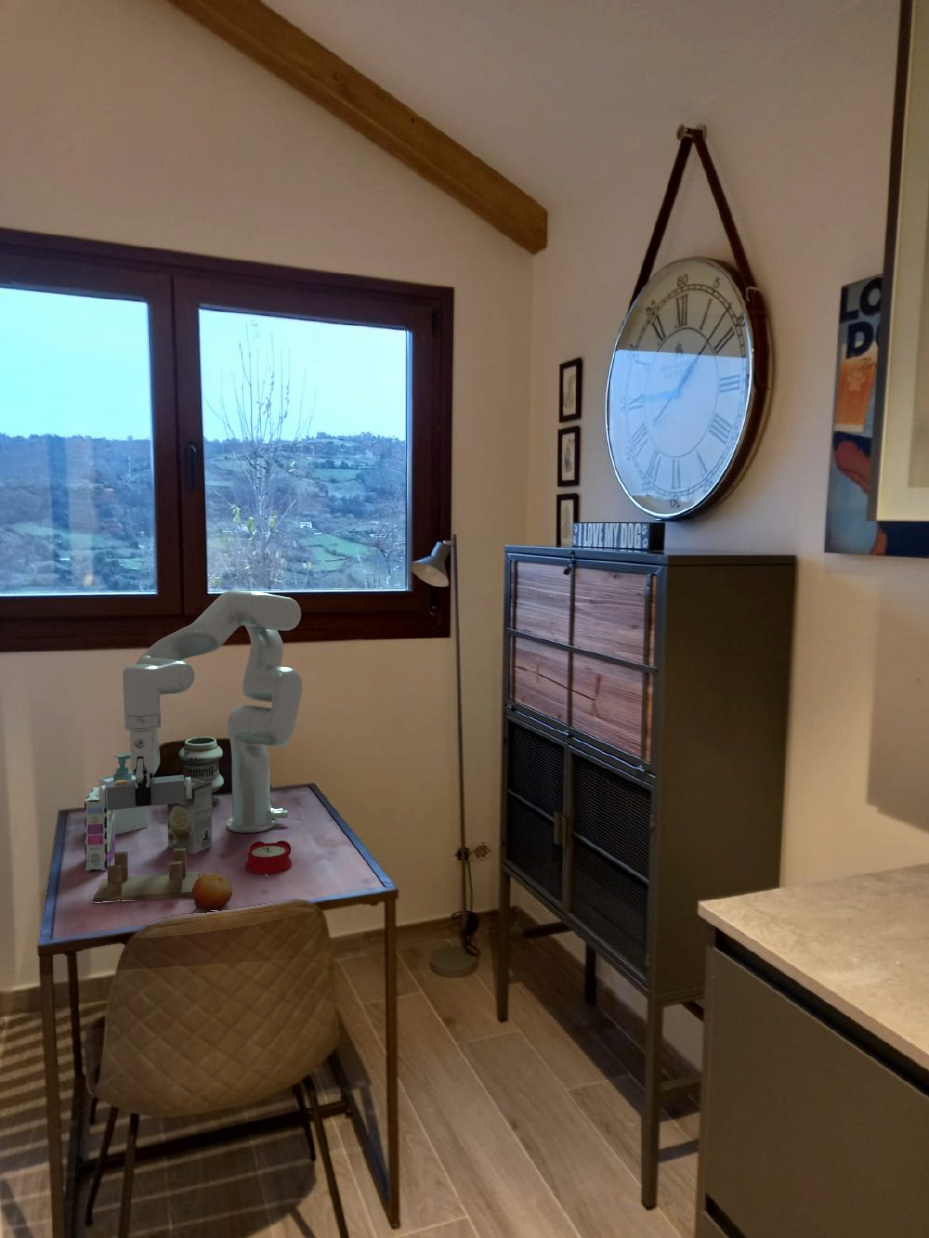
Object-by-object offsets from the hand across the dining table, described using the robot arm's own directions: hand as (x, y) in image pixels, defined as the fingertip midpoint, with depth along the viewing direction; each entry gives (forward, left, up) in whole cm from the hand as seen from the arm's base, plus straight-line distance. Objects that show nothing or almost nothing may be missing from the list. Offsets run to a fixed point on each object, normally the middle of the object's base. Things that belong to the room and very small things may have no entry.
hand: (145, 800), depth 190 cm
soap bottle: (+10, -32, -17) cm, 37 cm away
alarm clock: (-27, -1, -17) cm, 32 cm away
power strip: (0, 0, -1) cm, 1 cm away
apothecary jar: (-7, -49, -17) cm, 53 cm away
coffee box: (-8, -15, -17) cm, 24 cm away
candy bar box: (+11, -8, -17) cm, 22 cm away
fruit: (-16, +21, -17) cm, 31 cm away
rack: (-2, +10, -17) cm, 20 cm away
